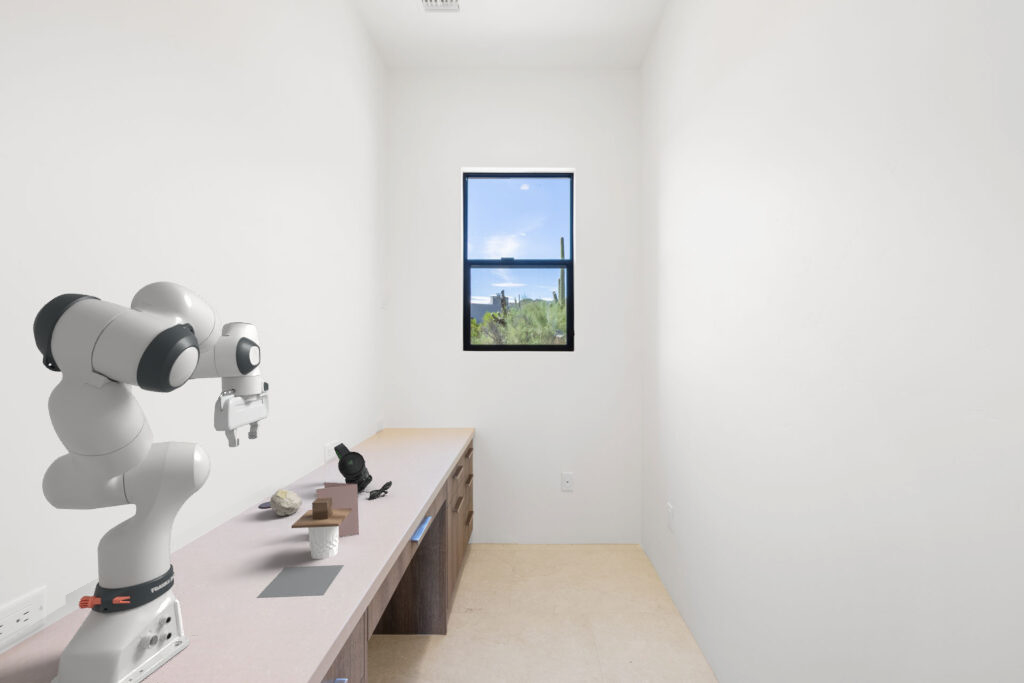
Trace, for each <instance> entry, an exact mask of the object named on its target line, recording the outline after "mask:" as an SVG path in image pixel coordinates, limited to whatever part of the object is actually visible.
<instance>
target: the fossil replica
mask: <svg viewBox="0 0 1024 683" xmlns="http://www.w3.org/2000/svg"><path fill="white" fill-rule="evenodd" d="M269 503H270V504H269V505H270V509H271V510H273V511H275V514H276V515H277V516H279V517H285V516H292V515H293V514H294V513H296V512H298V511H299V509H301V506H302V504H303V499H302V498H301V497H300V496H298V494H297V493H296V492H294V491H291V490H285V489H282V488H281V489H280V488H279V490H277V491H276V492H275V493H274V494H273V495H272V496H271V498H270V500H269Z"/></svg>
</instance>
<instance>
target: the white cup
mask: <svg viewBox="0 0 1024 683" xmlns="http://www.w3.org/2000/svg"><path fill="white" fill-rule="evenodd" d="M339 538H340V537H339V526H334V527H310V528H308V539H309V548H310V557H311V558H312V559H315V560H325V559H329V558H332V557H334V556H336V555H337V554H338V551H339Z"/></svg>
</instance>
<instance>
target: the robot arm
mask: <svg viewBox="0 0 1024 683" xmlns="http://www.w3.org/2000/svg"><path fill="white" fill-rule="evenodd" d="M32 324H33V325H32V327H33V328H32V332H33V337H34V342H35V345H36V347H37V349H38V351H39V352H40V353H41V355H42V364H43V365H44V367H45V368H46V369H48V370H49V371H51V372H57V373H59V372H61V374H62V375H61V376H62V377H61V380H60V381H59V383H58V384H57V385H56V386H54V388H53V389H52V391H51V393H50V394H49V397H48V401H47V408H48V414H49V419H50V423H51V425H52V427H53V430H54V432H55V433H56V435H57V437H58V439H59V440H60V442H61V444H62V445H63V447H64V448H65V449H66V450H67V451H68V453H66V454H64V455H61V456H58V457H57V458H56V459H55V460H54V461H52V463H51V464H50V465H49V466H48V468H47V469H46V471H45V473H44V475H43V479H42V485H41V486H42V488H41V489H42V493H43V496H44V498H45V499H46V501H47V502H48V503H49V504H50V505H51V506H52V507H53V508H55V509H59V510H80V511H81V510H84V511H85V510H86V511H88V510H95V509H102V508H103V509H104V508H111V507H118V506H126V505H135V508H136V509H135V510H136V511H135V513H134V515H132V516H131V517H129V518H127V519H125V520H124V521H122V522H120V523H118V524H117V525H115V526H114V527H112V528H110V529H109V530H108V531H107V532H106V533H104V535H103V536H102V537H101V538H100V540H99V543H98V546H97V567H98V568H97V570H98V571H97V573H98V581H97V583H96V585H95V588H94V591H93V595H92V596H90V595H84V596H82V597H81V598H80V599H79V601H78V608H79V609H87V608H89V609H91V610H90V611H89V614H88V615H87V616H86V617H85V619H84V620H83V622H82V624H81V625H80V626H79V627H78V629H77V631H76V632H75V633H74V635H73V637H72V638H71V639H70V641H69V642H68V644H67V645H66V647H65V648H64V650H63V651H62V652H61V654H60V657H59V662H58V669H57V670H58V671H57V675H56V676H55V677H54V678H53V679H52V680H51V681H50V682H49V683H141V682H142V681H144V679H146V678H147V677H148V676H150V675H152V673H154V672H155V671H157V670H158V669H159V668H160V667H161V666H163V665H164V664H165V663H167V662H168V661H170V660H171V659H172V658H174V657H175V656H176V655H177V654H179V653H180V652H182V651H183V650H184V649H185V648H187V647H188V646H189V645H190V643H191V642H190V637H189V636H188V635H186V634H185V632H184V625H183V624H184V623H183V618H182V610H181V606H180V601H179V600H178V598H177V597H176V593H175V592H174V590H173V586H174V584H175V571H174V566H173V564H172V563H171V539H172V530H173V525H174V523H175V519H176V517H177V516H178V514H179V511H180V510H181V508H182V507H183V506H184V504H186V502H187V501H188V500H189V499H190V498H191V497H192V496H193V495H194V494H196V493H197V492H199V491H200V489H201V488H203V487H204V485H205V484H206V482H207V480H208V479H209V476H210V472H211V459H210V455H209V453H208V452H207V450H206V449H205V448H204V447H203V446H202V445H201V444H200V443H197V442H187V441H163V442H154V443H153V438H154V437H153V432H152V429H151V426H150V425H149V422H148V420H147V417H146V416H145V413H144V411H143V408H142V407H141V405H140V403H139V401H138V400H137V399H136V397H135V395H134V394H133V390H132V386H135V387H139V388H140V389H141V390H144V391H146V392H147V391H148V392H153V393H162V394H164V393H170V392H173V391H175V390H177V389H179V388H181V387H182V386H184V385H185V384H186V383H187V382H188V381H189V380H196V379H215V378H221V393H220V395H219V396H218V398H217V400H216V402H215V404H214V413H213V428H214V429H215V431H216V432H224V434H225V436H226V439H227V440H228V447H229V448H236V447H238V446H239V445H240V438H238V436H237V432H238V428H241V427H243V426H247V425H249V427H250V429H249V432H247V437H248V439H249V440H256V439H258V438H259V434H258V431H259V429H260V425H261V420H264V419H266V418H267V417H268V416H269V411H270V410H269V409H270V396H269V393H268V392H269V391H270V388H271V387H270V383H269V382H268V381H265V380H264V379H263V378H262V371H261V369H260V364H261V346H260V338H259V331H258V330H257V326H256V325H254V324H252V323H248V322H235V321H234V322H228V323H225V324H224V325H223V324H222V321H221V318H220V315H219V314H218V312H217V310H216V309H215V308H214V307H213V306H212V305H211V304H210V303H209V302H208V301H207V300H206V299H204V298H203V297H202V296H200V295H199V294H197V293H196V292H195V291H193V290H191V289H189V288H187V287H185V286H183V285H179V283H178V284H177V283H175V282H171V281H156V282H151V283H150V284H146V285H145V286H143V287H141V288H140V289H138V291H137V292H136V293H135V294H134V296H133V298H132V299H131V303H130V307H127V306H124V305H121V304H117V303H113V302H110V301H105V300H102V299H101V298H99V297H97V296H94V295H89V294H83V293H63V294H61V295H57V296H56V297H54V298H52V299H51V300H50V301H48V302H47V303H45V304H44V305H43V306H42V307H41V308H40V309H39V311H38V312H37V314H36V316H35V318H34V322H33V323H32ZM222 325H223V326H222Z"/></svg>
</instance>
